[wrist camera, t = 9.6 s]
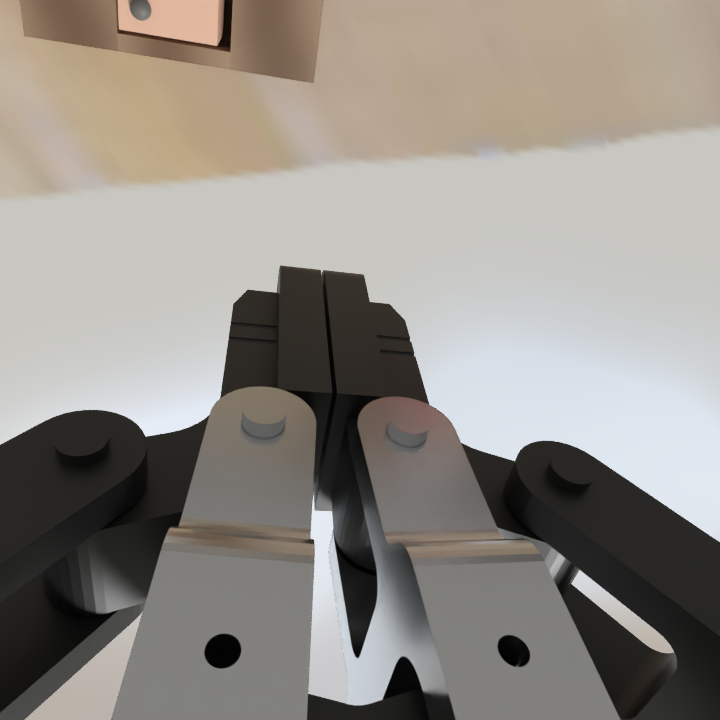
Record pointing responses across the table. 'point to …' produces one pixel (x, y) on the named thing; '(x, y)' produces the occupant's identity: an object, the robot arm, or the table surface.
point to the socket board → (245, 53)
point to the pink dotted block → (174, 19)
